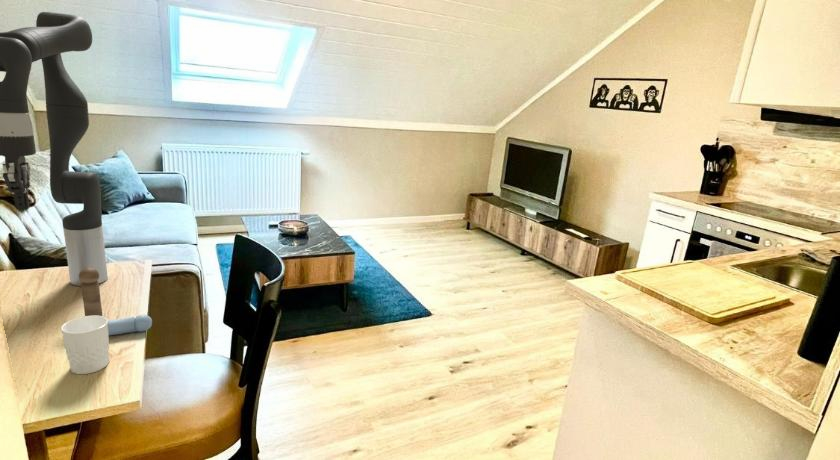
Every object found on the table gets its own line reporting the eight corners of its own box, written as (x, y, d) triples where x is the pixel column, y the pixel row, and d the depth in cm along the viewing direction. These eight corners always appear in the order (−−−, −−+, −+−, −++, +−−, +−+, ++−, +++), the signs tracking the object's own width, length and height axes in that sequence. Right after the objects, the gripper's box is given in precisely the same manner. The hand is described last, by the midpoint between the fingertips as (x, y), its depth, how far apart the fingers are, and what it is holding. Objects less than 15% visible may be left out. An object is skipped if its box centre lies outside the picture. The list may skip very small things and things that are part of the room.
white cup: (77, 381, 91) (71, 337, 89) (60, 366, 95) (54, 324, 92) (119, 364, 98) (115, 323, 95) (101, 351, 102) (97, 311, 99)
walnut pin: (84, 315, 116) (78, 266, 112) (104, 312, 118) (99, 264, 115) (83, 322, 113) (76, 272, 109) (103, 319, 115) (97, 270, 111)
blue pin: (84, 319, 107) (151, 310, 113) (86, 335, 108) (152, 325, 115) (82, 328, 103) (151, 317, 110) (84, 343, 104) (152, 333, 111)
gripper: (27, 137, 95) (38, 215, 100) (38, 130, 106) (48, 201, 111) (-21, 135, 92) (-7, 217, 96) (-4, 129, 102) (8, 202, 107)
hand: (22, 208), depth 104 cm, fingers closed
